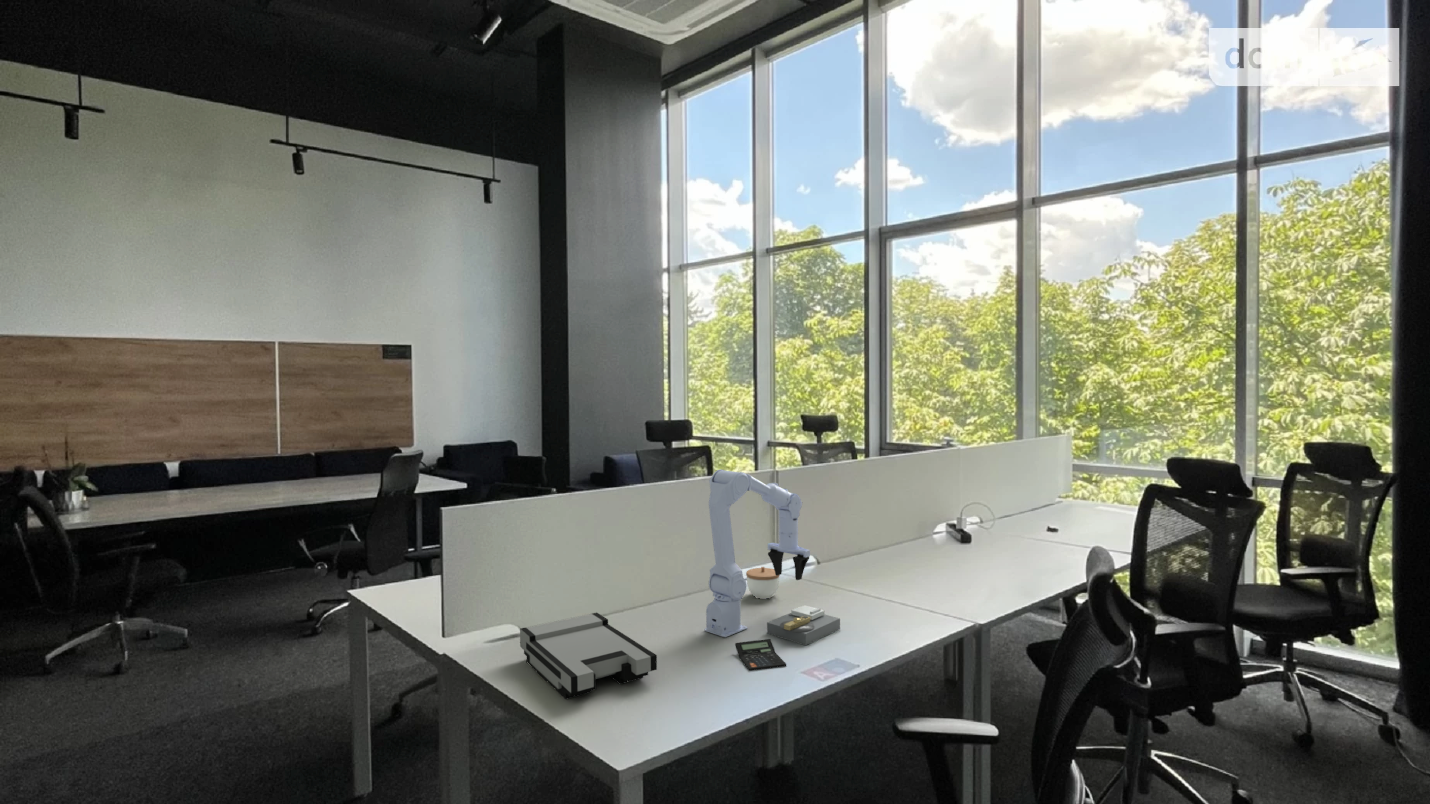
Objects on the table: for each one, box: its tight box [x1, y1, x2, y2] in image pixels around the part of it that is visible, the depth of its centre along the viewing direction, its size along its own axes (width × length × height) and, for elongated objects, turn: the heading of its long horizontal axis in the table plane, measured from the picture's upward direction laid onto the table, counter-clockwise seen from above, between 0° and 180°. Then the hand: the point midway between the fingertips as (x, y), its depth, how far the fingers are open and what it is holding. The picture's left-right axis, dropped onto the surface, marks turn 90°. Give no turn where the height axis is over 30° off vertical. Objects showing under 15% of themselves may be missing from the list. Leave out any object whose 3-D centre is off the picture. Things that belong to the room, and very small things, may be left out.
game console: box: [519, 611, 658, 700], centre depth 166 cm, size 21×32×8 cm, turn 34°
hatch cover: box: [790, 604, 825, 620], centre depth 196 cm, size 6×7×2 cm
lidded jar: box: [745, 566, 781, 600], centre depth 224 cm, size 11×11×9 cm
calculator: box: [734, 638, 787, 672], centre depth 173 cm, size 9×12×3 cm
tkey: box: [784, 616, 810, 630], centre depth 187 cm, size 9×2×2 cm, turn 137°
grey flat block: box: [766, 612, 841, 646], centre depth 191 cm, size 18×13×3 cm
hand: (788, 577), depth 210 cm, fingers open, 7 cm apart
